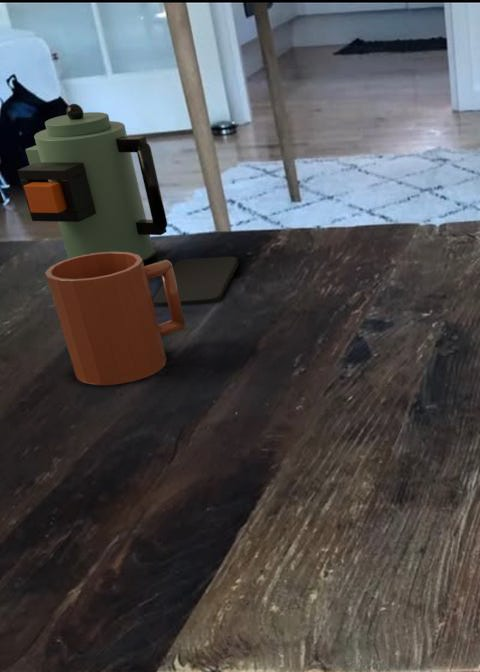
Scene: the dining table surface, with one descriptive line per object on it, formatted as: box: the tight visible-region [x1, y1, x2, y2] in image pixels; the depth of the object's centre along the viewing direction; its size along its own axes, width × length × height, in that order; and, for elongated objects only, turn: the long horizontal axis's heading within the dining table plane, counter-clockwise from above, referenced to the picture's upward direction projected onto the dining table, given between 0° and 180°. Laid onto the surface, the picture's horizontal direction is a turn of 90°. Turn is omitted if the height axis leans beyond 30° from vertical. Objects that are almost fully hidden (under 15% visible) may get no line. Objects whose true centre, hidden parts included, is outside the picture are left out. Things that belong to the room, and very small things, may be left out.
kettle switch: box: [24, 182, 68, 213], centre depth 123 cm, size 4×2×3 cm, turn 72°
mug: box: [45, 252, 186, 386], centre depth 104 cm, size 12×8×10 cm
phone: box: [152, 256, 239, 307], centre depth 126 cm, size 7×1×15 cm
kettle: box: [17, 103, 168, 266], centre depth 129 cm, size 16×14×18 cm
